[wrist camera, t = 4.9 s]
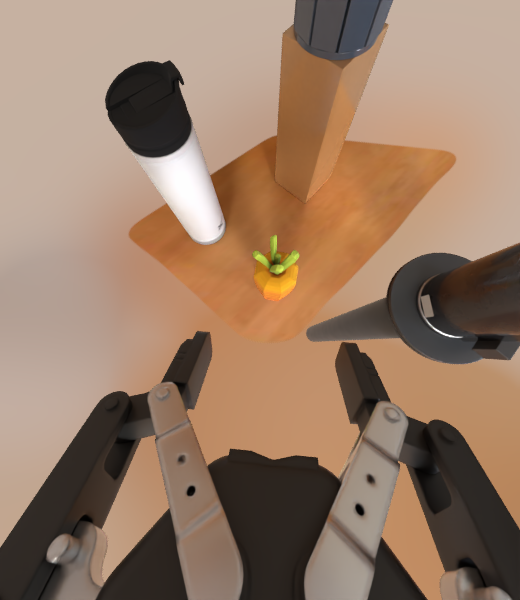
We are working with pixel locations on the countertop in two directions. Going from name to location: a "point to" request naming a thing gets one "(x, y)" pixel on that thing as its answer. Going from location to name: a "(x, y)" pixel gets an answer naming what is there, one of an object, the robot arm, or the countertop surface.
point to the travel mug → (166, 144)
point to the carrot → (275, 272)
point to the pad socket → (323, 85)
